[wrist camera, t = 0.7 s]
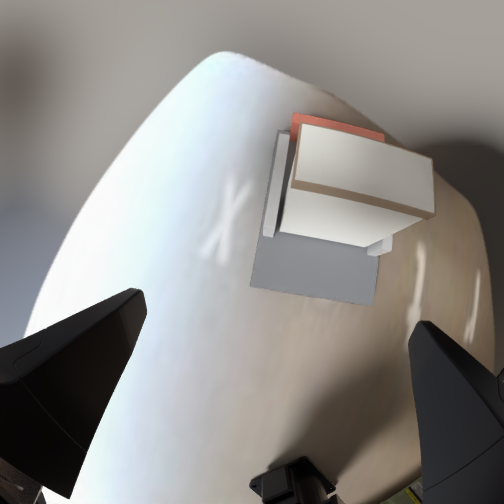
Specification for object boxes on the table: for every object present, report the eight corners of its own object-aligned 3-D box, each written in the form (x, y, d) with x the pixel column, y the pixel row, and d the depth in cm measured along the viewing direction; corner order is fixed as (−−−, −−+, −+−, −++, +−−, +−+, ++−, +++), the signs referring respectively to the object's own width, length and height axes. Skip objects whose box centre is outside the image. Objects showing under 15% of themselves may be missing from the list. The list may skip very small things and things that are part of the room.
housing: (365, 305, 22) (388, 307, 17) (250, 286, 22) (247, 284, 18) (377, 160, 24) (395, 138, 19) (277, 138, 24) (279, 110, 20)
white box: (365, 248, 21) (435, 215, 11) (277, 232, 21) (292, 181, 11) (368, 211, 21) (432, 158, 11) (284, 193, 22) (300, 121, 12)
